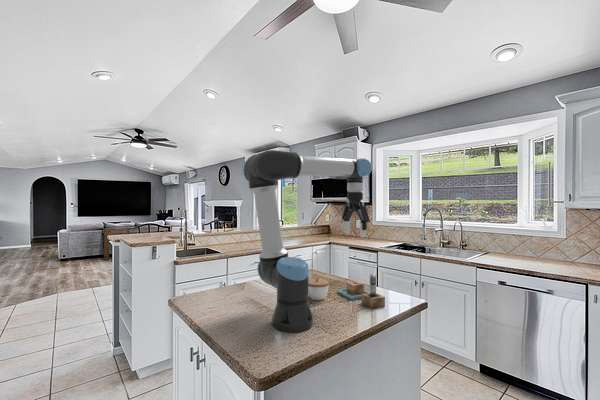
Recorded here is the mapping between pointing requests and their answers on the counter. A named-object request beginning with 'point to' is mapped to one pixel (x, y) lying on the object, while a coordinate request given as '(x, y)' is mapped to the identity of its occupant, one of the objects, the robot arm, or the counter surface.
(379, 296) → the block
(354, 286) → the block
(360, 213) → the robot arm
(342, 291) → the tray
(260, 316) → the counter surface
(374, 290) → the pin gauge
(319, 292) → the lidded jar
